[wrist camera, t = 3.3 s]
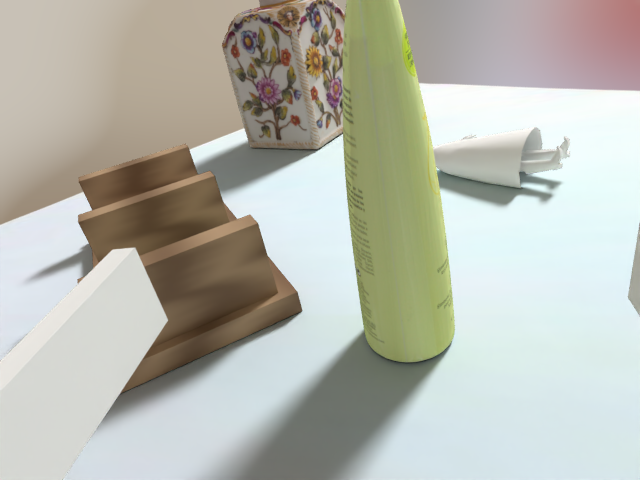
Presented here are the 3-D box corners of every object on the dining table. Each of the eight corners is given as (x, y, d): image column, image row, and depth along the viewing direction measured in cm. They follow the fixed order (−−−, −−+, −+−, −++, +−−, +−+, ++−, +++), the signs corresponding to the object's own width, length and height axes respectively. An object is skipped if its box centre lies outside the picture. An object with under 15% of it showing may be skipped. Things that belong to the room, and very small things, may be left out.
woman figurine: (543, 158, 32) (336, 159, 44) (545, 216, 34) (347, 202, 46) (583, 105, 40) (397, 117, 51) (583, 155, 42) (404, 156, 53)
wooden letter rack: (213, 197, 50) (193, 139, 46) (302, 310, 30) (278, 221, 27) (97, 239, 46) (67, 178, 43) (110, 398, 26) (56, 307, 23)
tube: (485, 333, 25) (472, -115, 15) (421, 388, 23) (360, -99, 13) (406, 293, 29) (359, -77, 20) (345, 337, 27) (258, -60, 17)
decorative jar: (366, 119, 64) (344, -31, 55) (319, 151, 56) (285, -17, 47) (297, 120, 71) (267, -13, 62) (246, 149, 63) (205, 1, 54)
